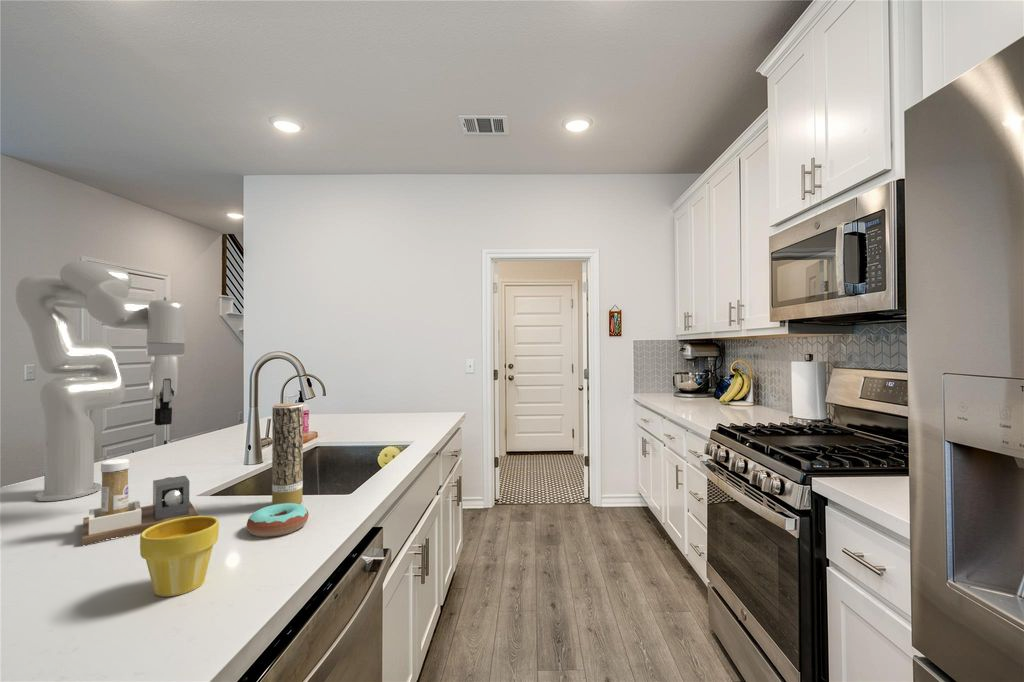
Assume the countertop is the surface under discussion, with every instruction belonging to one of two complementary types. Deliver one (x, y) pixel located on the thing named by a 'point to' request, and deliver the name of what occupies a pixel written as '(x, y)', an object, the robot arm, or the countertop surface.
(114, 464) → the sprinkles bottle
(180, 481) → the bearing block
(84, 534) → the walnut board
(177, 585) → the plant pot
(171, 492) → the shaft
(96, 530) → the socket
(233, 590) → the countertop surface
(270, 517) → the donut
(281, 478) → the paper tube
